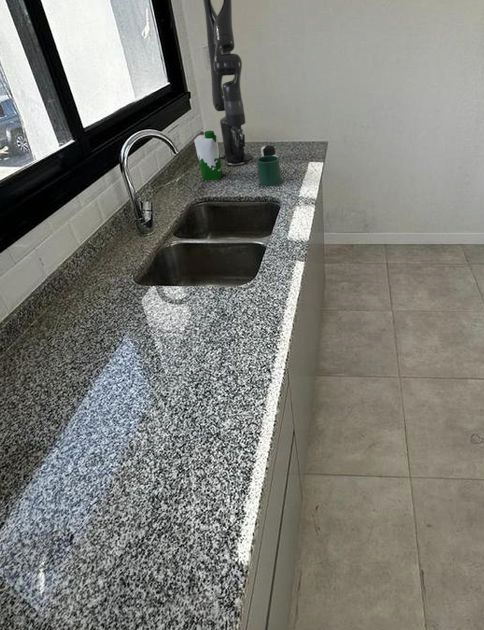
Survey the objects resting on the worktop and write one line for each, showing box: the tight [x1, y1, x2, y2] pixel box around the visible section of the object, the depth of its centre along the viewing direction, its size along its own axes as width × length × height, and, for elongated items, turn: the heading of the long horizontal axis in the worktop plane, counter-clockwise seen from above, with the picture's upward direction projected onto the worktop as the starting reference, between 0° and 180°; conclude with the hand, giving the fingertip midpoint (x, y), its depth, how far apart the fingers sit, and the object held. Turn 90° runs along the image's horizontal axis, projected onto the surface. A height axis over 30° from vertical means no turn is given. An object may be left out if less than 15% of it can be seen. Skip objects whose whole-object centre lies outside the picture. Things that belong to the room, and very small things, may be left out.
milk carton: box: [193, 130, 224, 181], centre depth 191 cm, size 9×9×20 cm
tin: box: [256, 155, 282, 187], centre depth 186 cm, size 9×9×10 cm
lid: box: [229, 147, 254, 163], centre depth 185 cm, size 10×10×6 cm
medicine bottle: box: [260, 145, 279, 158], centre depth 196 cm, size 7×7×12 cm
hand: (240, 155), depth 186 cm, fingers closed on lid, 2 cm apart
